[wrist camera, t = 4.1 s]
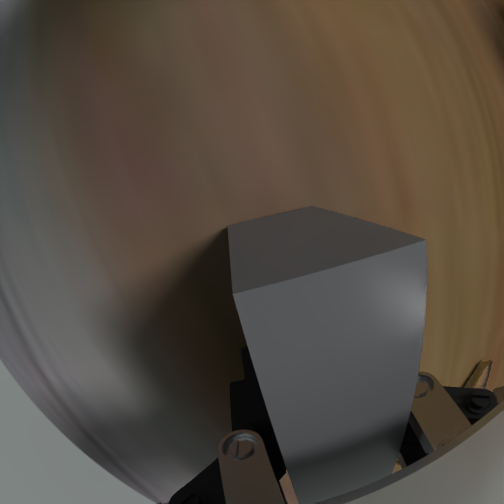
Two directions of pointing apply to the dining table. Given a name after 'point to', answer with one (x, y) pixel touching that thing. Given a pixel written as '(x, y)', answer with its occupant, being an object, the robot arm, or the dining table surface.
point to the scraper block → (332, 340)
